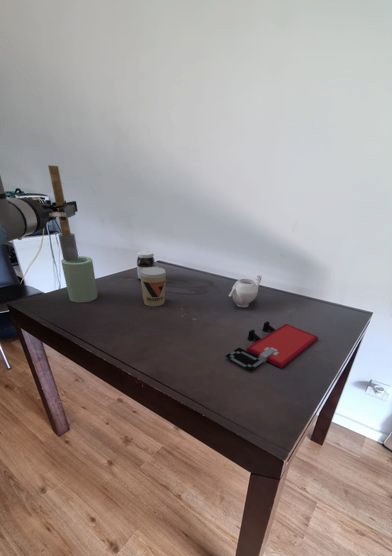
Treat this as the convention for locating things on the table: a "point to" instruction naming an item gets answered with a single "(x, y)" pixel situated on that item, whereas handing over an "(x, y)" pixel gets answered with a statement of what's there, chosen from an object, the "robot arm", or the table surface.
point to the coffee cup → (153, 285)
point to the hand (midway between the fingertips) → (70, 205)
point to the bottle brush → (66, 237)
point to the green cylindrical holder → (80, 279)
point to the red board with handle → (273, 346)
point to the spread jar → (145, 261)
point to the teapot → (245, 291)
